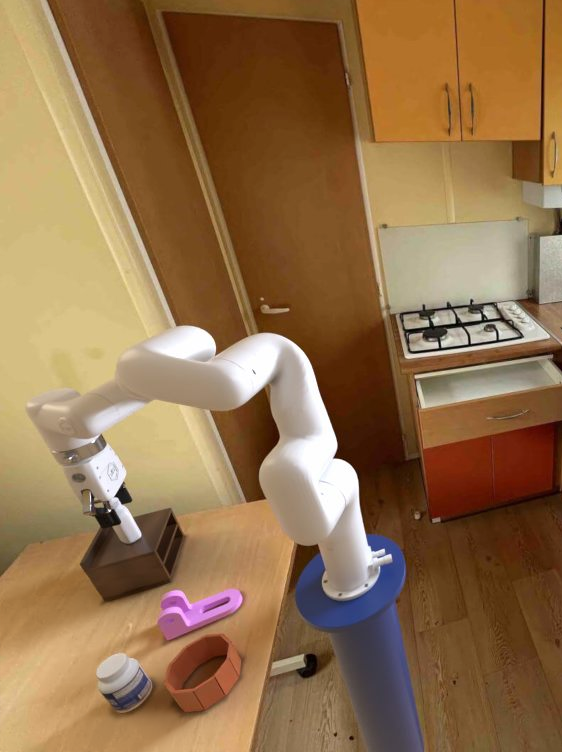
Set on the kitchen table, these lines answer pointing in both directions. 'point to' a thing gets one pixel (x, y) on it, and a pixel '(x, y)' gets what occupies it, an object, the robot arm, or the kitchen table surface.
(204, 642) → the holder cup
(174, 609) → the bracket
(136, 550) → the shelf
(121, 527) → the eye dropper bottle
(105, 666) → the pill bottle
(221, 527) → the kitchen table surface
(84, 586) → the kitchen table surface
